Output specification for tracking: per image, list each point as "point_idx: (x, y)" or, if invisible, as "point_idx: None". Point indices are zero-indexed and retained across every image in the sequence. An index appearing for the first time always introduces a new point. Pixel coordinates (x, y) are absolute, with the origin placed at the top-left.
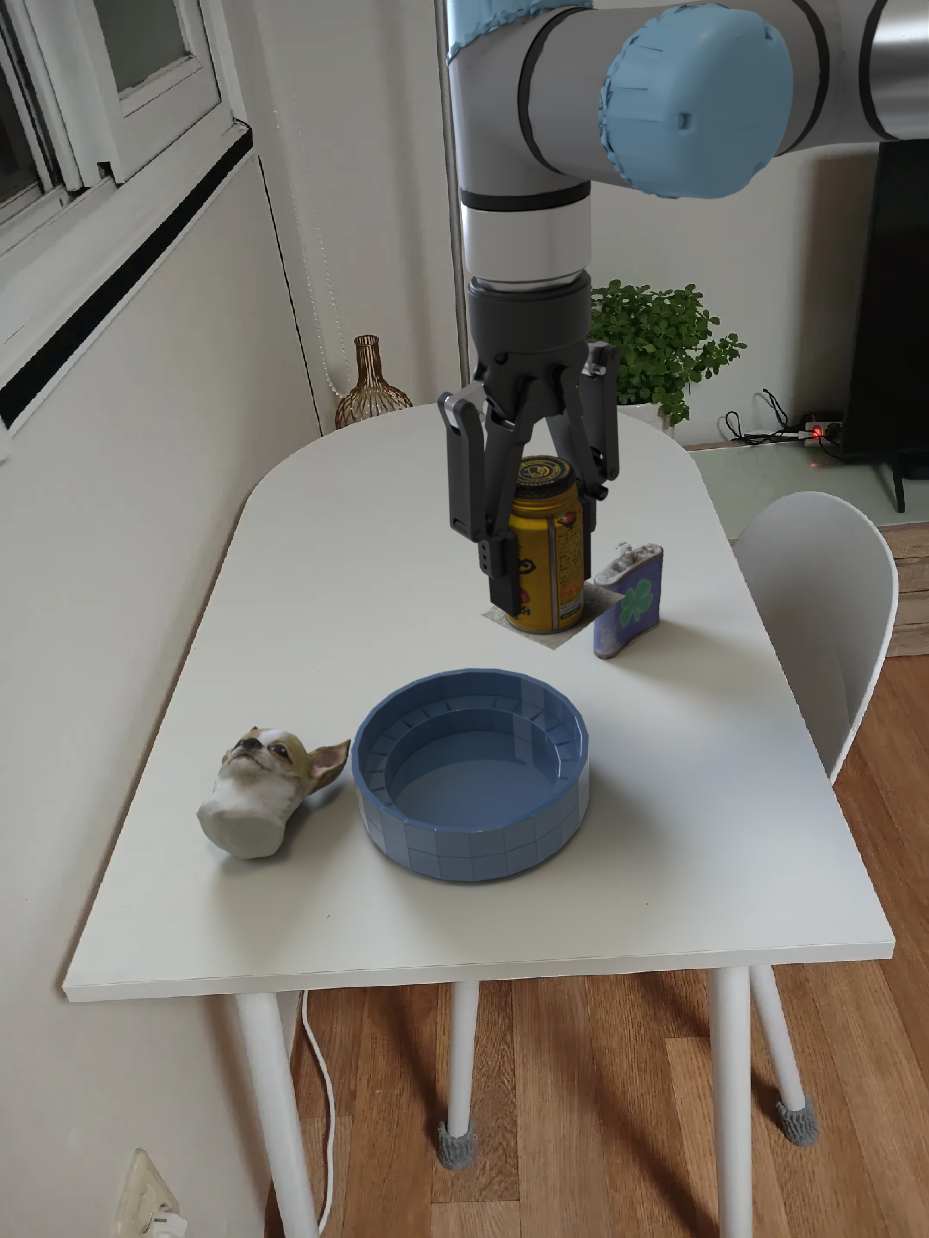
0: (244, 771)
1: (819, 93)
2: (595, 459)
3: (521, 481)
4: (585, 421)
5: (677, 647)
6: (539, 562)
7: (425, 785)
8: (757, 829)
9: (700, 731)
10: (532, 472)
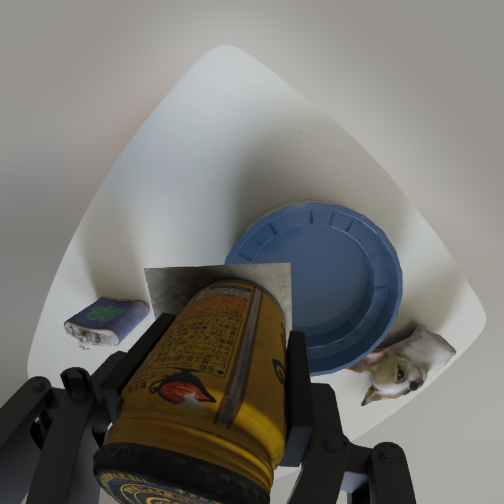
0: (426, 371)
1: None
2: (47, 425)
3: None
4: (23, 485)
5: (107, 273)
6: (266, 361)
7: (328, 308)
8: (199, 121)
9: (152, 206)
10: None
